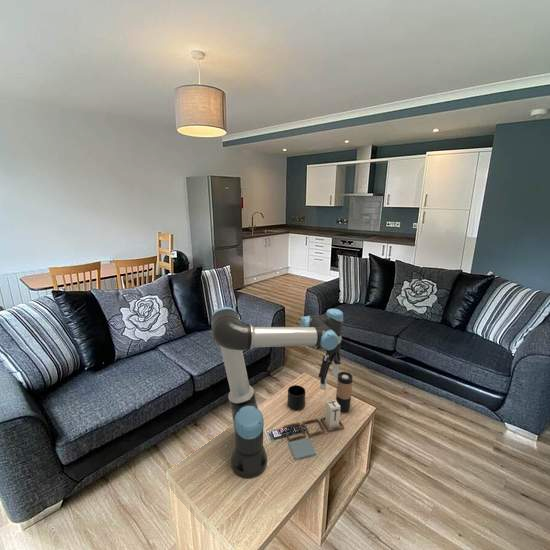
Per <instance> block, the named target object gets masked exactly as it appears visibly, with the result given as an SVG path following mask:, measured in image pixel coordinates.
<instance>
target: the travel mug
mask: <svg viewBox="0 0 550 550" xmlns="http://www.w3.org/2000/svg"><path fill="white" fill-rule="evenodd" d="M336 383H337V384H336V392H335V393H336V394H335V400H336V401H337V402H338V404H339V405H340V406H341V407H340V414H347V413H349V412H350V407H351V401H352V400H351V399H352V392H353V391H352V389H353V374H351V373H350V372H347V371H340V372H338V375H337V382H336Z"/></svg>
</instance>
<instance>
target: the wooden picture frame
mask: <svg viewBox="0 0 550 550" xmlns="http://www.w3.org/2000/svg"><path fill="white" fill-rule="evenodd" d="M296 425H299V426H300V427H299V426H298V427H299V429H300V428H301V429H300V431H301V433H302V434H301V435H296V436H292V437H290V436H289V433H288V431H287V428H286V427H290V426H295V427H297V426H296ZM283 428H284V429H285V428H286V429H285V432H286V434H285V436H286V438H287V441H288V442H292V441H296V440H301V439H305V438H307V433H305V432H306V431H305V429H304V427H303V425H302V423H301V422H295V423H289V424H285V425H283V426H282V429H283ZM284 429H283V430H284ZM285 432H284V433H285Z"/></svg>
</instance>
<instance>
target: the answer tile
mask: <svg viewBox="0 0 550 550" xmlns="http://www.w3.org/2000/svg"><path fill="white" fill-rule="evenodd" d="M287 445H288V448H289V449H290V451H291V452H290V453H291V454H292V456H293V458H294V459H293V460H294V461H298V460H302V459H303V460H304V459H307V458H311V457H315V456H317V452H316V449H315V447H314V445H313V444H312V442H311V440H310V437H306V438H303V439H298V440H294V441H290V442H289V441H288V443H287Z"/></svg>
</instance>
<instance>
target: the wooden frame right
mask: <svg viewBox="0 0 550 550" xmlns="http://www.w3.org/2000/svg"><path fill="white" fill-rule="evenodd" d="M319 421H320V423H321V424H322V426H323V428H324V429H325V431H326V432H327V434H328V433H333V432H337V431H341V430H344V429H345V427H344V424H343V423H342V422H341V419H339V427H336V428H332V429H329V428H328V426H327V424H326V423H325V416H322V417H320V419H319Z"/></svg>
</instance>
